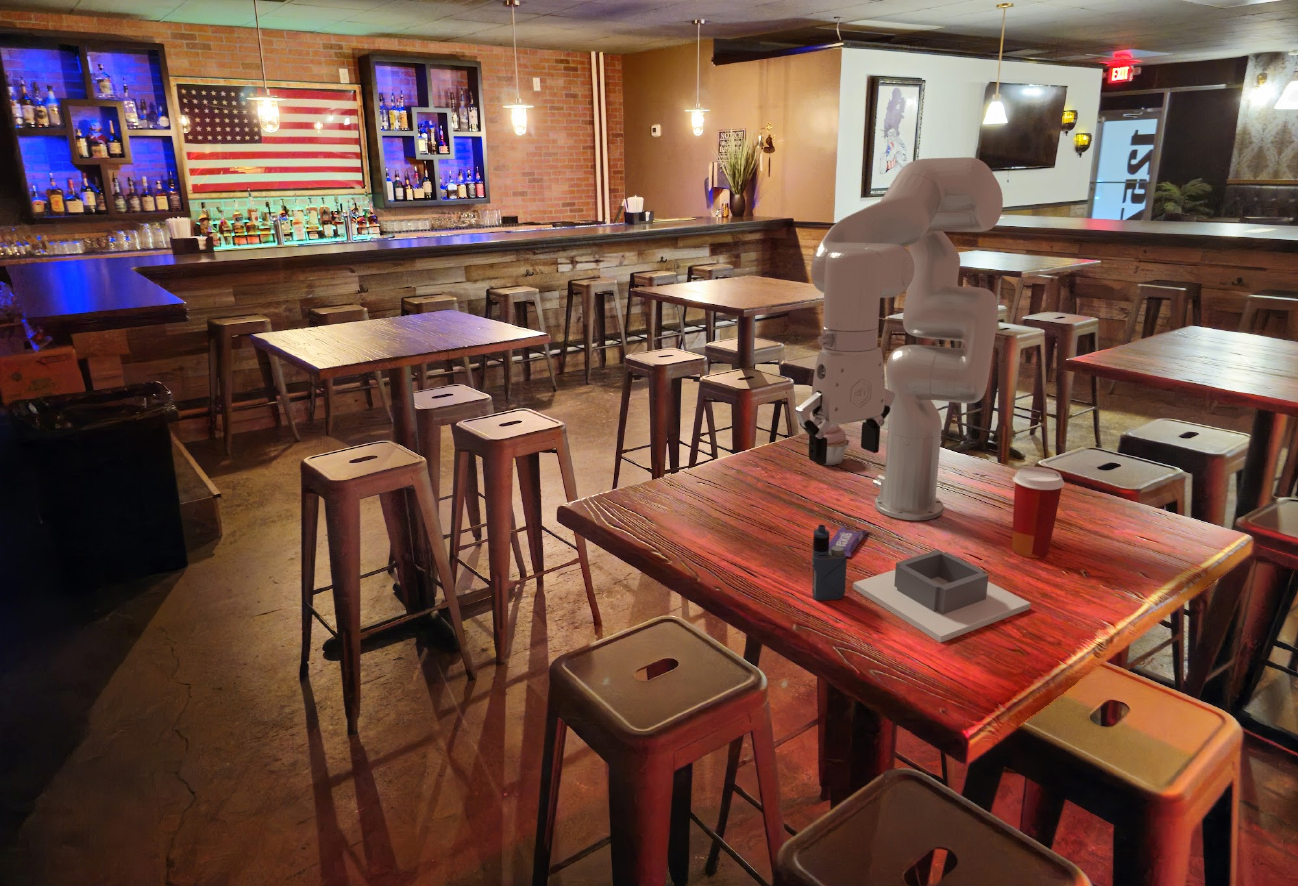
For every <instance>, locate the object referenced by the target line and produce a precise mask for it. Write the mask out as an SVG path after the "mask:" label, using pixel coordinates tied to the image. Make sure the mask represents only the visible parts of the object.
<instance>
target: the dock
mask: <svg viewBox="0 0 1298 886" xmlns="http://www.w3.org/2000/svg"><path fill="white" fill-rule="evenodd" d="M989 576H990V575H989V574H987V573H986V570H984V569H982V568H979V567H978V566H976V565H974V564H972V563H970V562H968V561H966V560H963V559H962V558H960V557H958V556H956V555H953V554H951V553H950V552H947V551H945V552H943V551H941V550H939V549H937V550H933V551H931V552H930V551H929V552H927V553H923V554H920V555H917V556H914V557H911V558H907V559H904V560H901V561H898V562H895V568H894V569H893V570H890V571H885V572H883V573H879V574H876V575H874V576H871V577H868V578H865V579H861V580H857V581H854V582H853V583H852V589H853V590H855V591H856V592H858V593H860V594H862V596H864V597H866V598H868V599H869V600H871V601H873V602H874V603H875V604H877V605H879V606H880V607H882V608H884V609H885V610H887V611H889V612H891V613H892V614H893V615H895V616H896V617H898V618H900V619H901V620H903V621H905V623H908V624H909V625H911V626H912V627H914V628H916V629H918V630H919V631H921V632H922V633H924V634H926V636H929V638H930V637H931V638H932V639H934V640H935V641H937V642H938V643H940V644H941V643H943V642H947V641H949V640H952V639H954V638H957V637H959V636H961V635H964V634H967V633H969V632H973V631H976V630H978V629H979V628H980V629H981V628H984V627H985V626H988V625H991V624H994V623H997V622H999V621H1001V620H1004V619H1007V618H1009V617H1012V616H1016V615H1018V614H1020V613H1022V612H1025V611H1028V610H1030V609H1031V602H1030V601H1027V600H1026V599H1023V598H1022V597H1020V596H1018V595H1016V594H1014V593H1012V592H1010V591H1008V590H1006V589H1004V588H1002V587H1000V586H998V585H996V584H994V583H992V582H991V581H989Z"/></svg>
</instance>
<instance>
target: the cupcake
mask: <svg viewBox="0 0 1298 886" xmlns="http://www.w3.org/2000/svg"><path fill="white" fill-rule="evenodd" d="M820 425H821V423H819V425H818V426H817V427H818V428H819V426H820ZM823 437H825V438H827V459H826V464H824V465H823V466H836V464H838V465H840V464H841V463H843V461H844V458H845V453H846V451H847V448H848V446H849V444H850V440H849V439H847V434H846V433H845V430H844V429H843V428H841V427H840V425H834V424H831V426H830V427H829V429H828V430H827V432H826V433H825V435H824V436H823ZM806 442H807V444H808V445H809V439H808V440H807V441H806ZM839 463H840V464H839Z"/></svg>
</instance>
